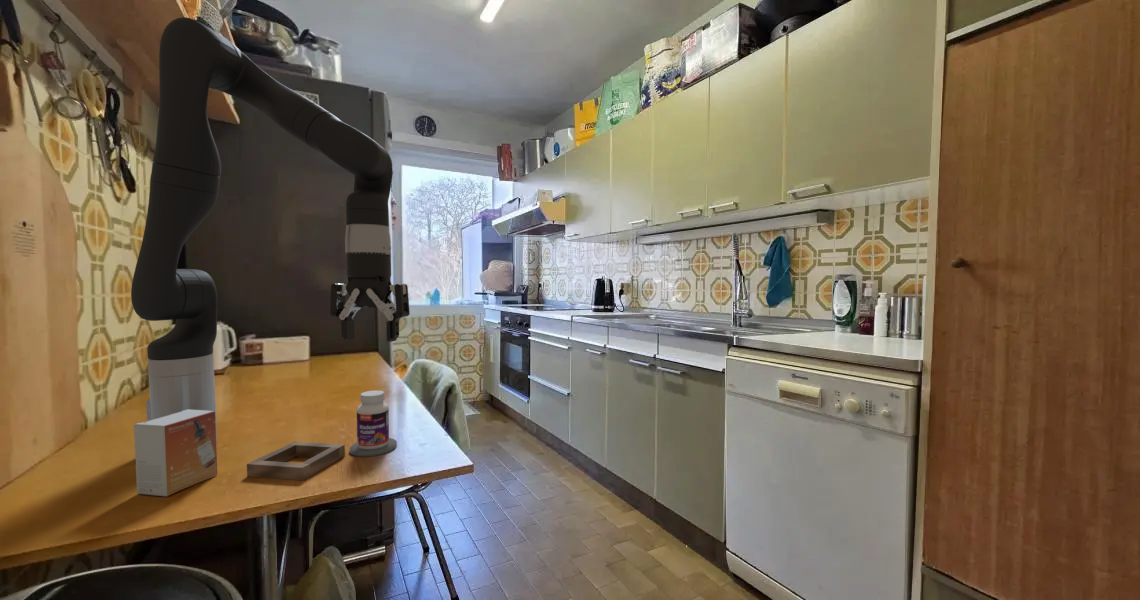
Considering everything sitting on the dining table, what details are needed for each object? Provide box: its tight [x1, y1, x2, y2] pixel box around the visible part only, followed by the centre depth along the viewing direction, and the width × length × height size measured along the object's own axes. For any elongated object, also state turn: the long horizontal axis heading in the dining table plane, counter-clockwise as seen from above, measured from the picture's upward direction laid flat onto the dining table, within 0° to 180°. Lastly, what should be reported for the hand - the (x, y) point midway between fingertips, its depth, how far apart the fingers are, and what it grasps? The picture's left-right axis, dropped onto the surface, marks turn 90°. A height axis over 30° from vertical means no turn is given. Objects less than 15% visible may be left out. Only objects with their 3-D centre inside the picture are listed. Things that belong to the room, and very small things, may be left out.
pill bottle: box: [356, 390, 390, 450], centre depth 84 cm, size 5×5×10 cm
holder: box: [246, 441, 346, 481], centre depth 77 cm, size 10×10×2 cm
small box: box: [133, 409, 218, 497], centre depth 70 cm, size 8×6×10 cm
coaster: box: [349, 437, 398, 458], centre depth 85 cm, size 8×8×1 cm
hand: (370, 340), depth 84 cm, fingers open, 8 cm apart
